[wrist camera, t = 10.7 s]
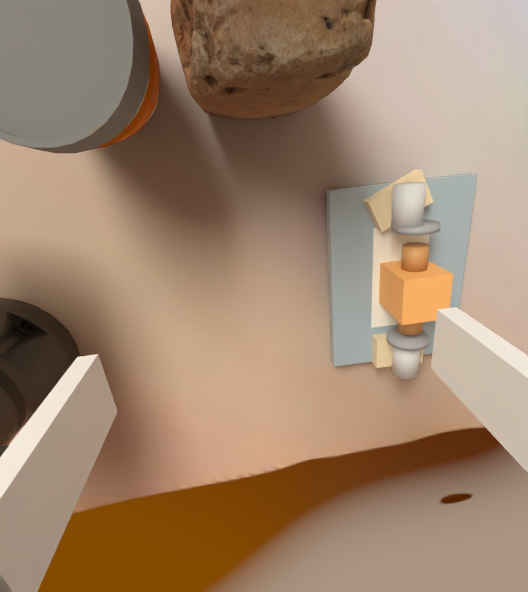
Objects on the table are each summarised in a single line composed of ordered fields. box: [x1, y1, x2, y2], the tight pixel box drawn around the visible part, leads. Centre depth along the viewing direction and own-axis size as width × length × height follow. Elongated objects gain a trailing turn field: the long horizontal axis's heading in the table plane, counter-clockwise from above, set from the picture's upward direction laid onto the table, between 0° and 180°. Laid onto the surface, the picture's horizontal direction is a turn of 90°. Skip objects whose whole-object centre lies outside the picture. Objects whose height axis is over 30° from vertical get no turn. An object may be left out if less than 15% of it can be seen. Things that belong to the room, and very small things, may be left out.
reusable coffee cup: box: [0, 0, 160, 153], centre depth 25 cm, size 13×13×15 cm
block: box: [171, 0, 376, 119], centre depth 23 cm, size 11×8×20 cm
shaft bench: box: [326, 170, 477, 380], centre depth 38 cm, size 16×23×7 cm
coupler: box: [379, 242, 453, 335], centre depth 37 cm, size 5×10×6 cm, turn 6°
